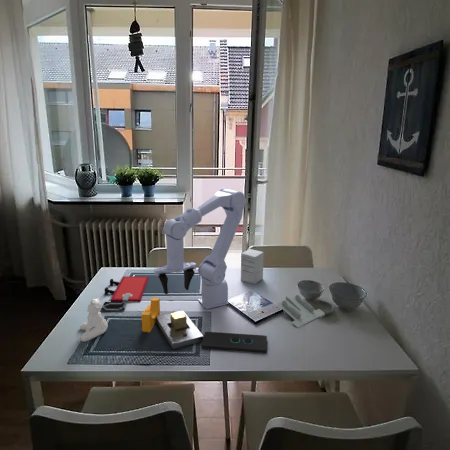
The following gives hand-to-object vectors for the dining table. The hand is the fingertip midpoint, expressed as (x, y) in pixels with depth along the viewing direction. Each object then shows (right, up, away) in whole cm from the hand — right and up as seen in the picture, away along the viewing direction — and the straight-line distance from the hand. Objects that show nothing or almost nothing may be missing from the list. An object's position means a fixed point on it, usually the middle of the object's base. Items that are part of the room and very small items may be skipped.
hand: (176, 290), depth 130 cm
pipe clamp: (-9, -11, -2) cm, 14 cm away
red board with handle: (-23, -5, +19) cm, 30 cm away
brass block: (+2, -12, -8) cm, 14 cm away
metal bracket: (+44, -10, +5) cm, 45 cm away
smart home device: (+20, -15, -14) cm, 28 cm away
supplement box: (+29, -1, +33) cm, 44 cm away
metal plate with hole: (+2, -12, -7) cm, 14 cm away
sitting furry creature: (-26, -12, -9) cm, 30 cm away
